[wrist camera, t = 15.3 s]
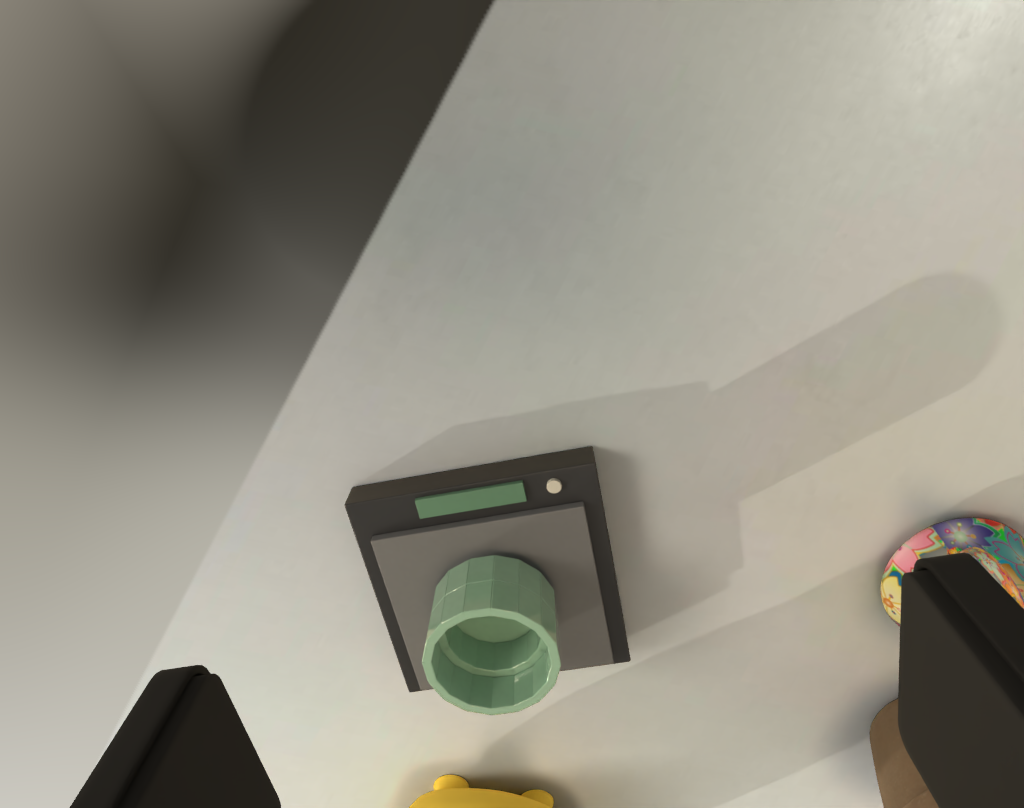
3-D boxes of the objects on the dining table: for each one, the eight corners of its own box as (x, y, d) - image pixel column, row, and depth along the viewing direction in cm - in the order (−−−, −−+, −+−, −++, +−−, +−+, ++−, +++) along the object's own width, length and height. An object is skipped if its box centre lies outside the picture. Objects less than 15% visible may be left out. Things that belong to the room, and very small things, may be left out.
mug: (1047, 592, 43) (1199, 739, 33) (897, 652, 45) (999, 806, 35) (988, 439, 39) (1142, 555, 29) (826, 513, 41) (920, 643, 31)
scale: (351, 486, 41) (341, 510, 38) (592, 445, 39) (596, 468, 37) (413, 669, 46) (407, 700, 44) (626, 638, 45) (632, 669, 43)
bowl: (421, 559, 40) (407, 619, 35) (545, 540, 39) (547, 600, 34) (449, 654, 42) (440, 722, 38) (565, 638, 42) (569, 705, 37)
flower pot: (911, 808, 51) (996, 967, 41) (793, 741, 48) (856, 894, 39) (1043, 711, 47) (1170, 864, 37) (922, 632, 44) (1026, 774, 35)
